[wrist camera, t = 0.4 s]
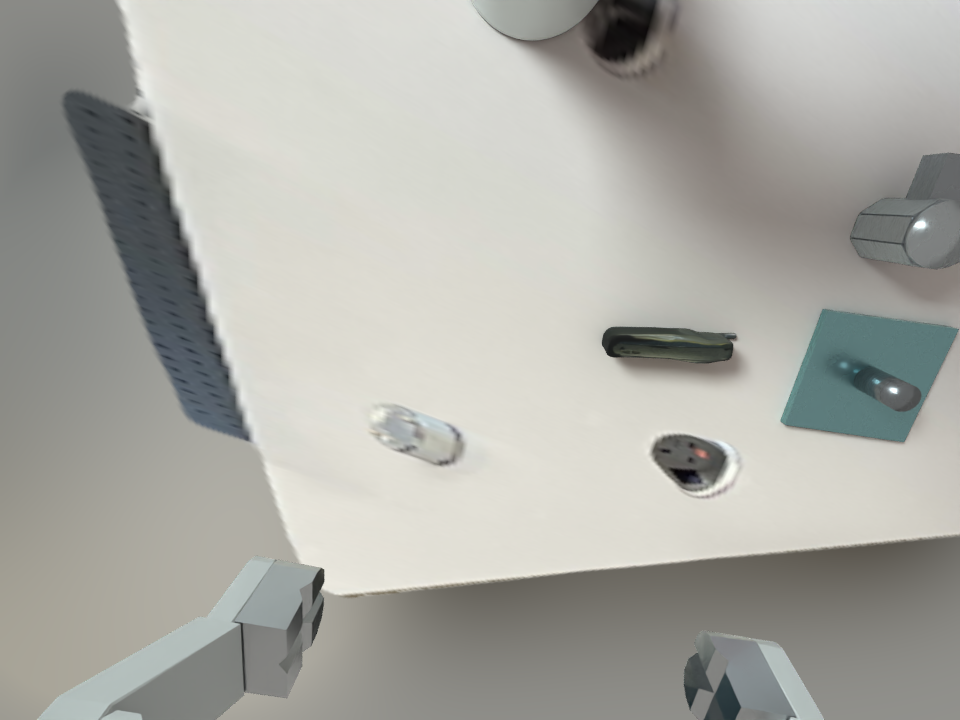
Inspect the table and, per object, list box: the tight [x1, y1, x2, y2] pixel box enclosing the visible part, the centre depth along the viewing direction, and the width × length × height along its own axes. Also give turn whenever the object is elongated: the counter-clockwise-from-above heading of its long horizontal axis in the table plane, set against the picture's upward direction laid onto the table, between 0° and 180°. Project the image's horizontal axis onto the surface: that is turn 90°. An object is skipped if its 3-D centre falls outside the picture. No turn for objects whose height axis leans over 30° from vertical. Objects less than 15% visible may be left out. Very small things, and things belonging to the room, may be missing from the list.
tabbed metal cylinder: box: [850, 153, 960, 269], centre depth 45 cm, size 10×6×8 cm, turn 173°
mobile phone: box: [602, 327, 736, 363], centre depth 53 cm, size 5×3×15 cm
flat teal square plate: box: [781, 309, 959, 442], centre depth 51 cm, size 14×14×6 cm
